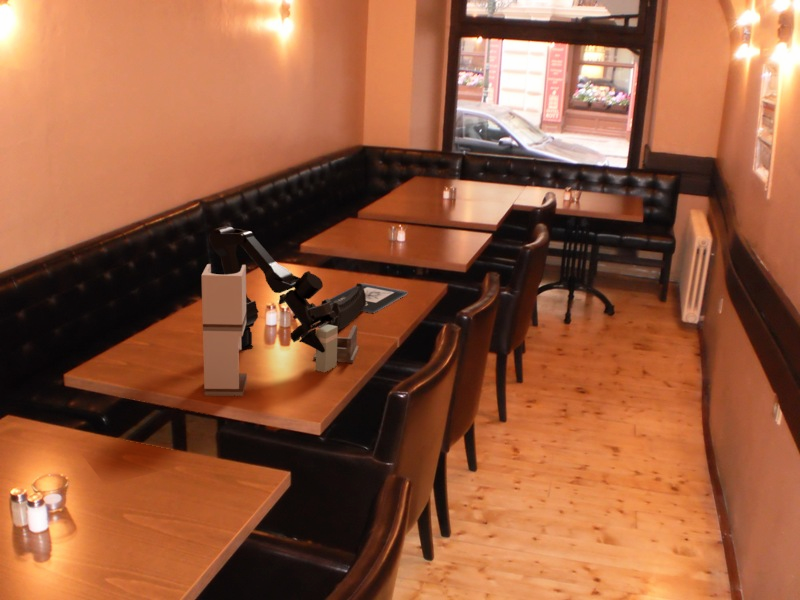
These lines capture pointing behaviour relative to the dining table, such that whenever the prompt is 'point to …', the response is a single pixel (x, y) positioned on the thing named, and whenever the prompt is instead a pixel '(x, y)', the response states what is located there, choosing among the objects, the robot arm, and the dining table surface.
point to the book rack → (347, 347)
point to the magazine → (349, 307)
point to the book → (327, 348)
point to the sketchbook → (374, 297)
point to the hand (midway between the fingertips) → (330, 348)
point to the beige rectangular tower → (223, 331)
